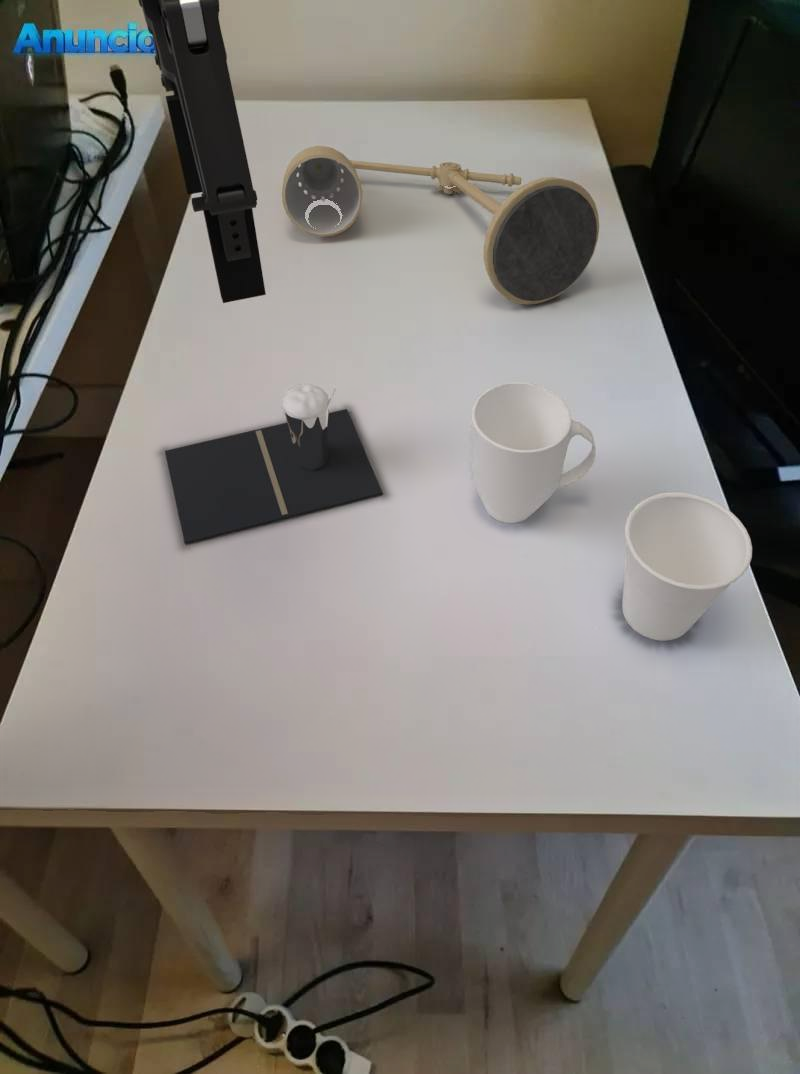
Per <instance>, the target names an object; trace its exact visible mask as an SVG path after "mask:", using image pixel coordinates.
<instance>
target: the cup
mask: <svg viewBox="0 0 800 1074" xmlns="http://www.w3.org/2000/svg"><path fill="white" fill-rule="evenodd" d="M624 537H625V538H624V539H625V543H626V545H625V548H626V549H625V562H624V563H625V564H624V575H623V576H624V577H623V580H624V581H623V591H622V601H621V603H622V604H621V607H622V613H623V616H624V618H625V621H626V623H628V625H629V626H630V627H631V628H632V629H633V630H634V631H635V632H637V633H638V634H639V635H641V636H643V637H646V638H648V639H651V640H655V641H662V642H663V641H665V642H667V641H672V640H676V639H679V638H680V637H683V636H684V635H685V634H687V632H688V631H689V630H690V629H691V628H692V627H693V626H694V625H695V624H696V622H697V621H698V620H699V619H700V618H701V617H702V616H703V615H704V613H705V612H706V611H708V609H709V608H710V607H711V606H712V605H713V604H714V603H715V602H716V601H717V599H719V597H720V596H722V594H723V593H724V592H725V591H726V590H727V589H728V588H729V587H730V586H731V584H733V583H735V582H736V581H737V580H739V579H740V578H741V577H743V576H744V574H745V573H746V571H747V570H748V568H749V566H750V564H751V561H752V558H753V545H752V540H751V537H750V534H749V533H748V529H747V528H746V527H745V526H744V524H743V523H742V521H741V520H740V519H739V518H738V517H737V516H736V515H735V514H734V513H733V512H732V511H731V510H730V509H728V508H726V507H725V506H723V505H722V504H721V503H719V502H716V501H715V500H713V499H710V498H707V497H705V496H702V495H699V494H695V493H690V492H679V491H674V492H673V491H672V492H662V493H659V494H654V495H651V496H650V497H647V498H645V499H643V500H642V501H641V502H639V503H638V504H636V505H635V507H633V509H632V510H631V511H630V513H629V514H628V516H627V519H626V521H625V526H624Z"/></svg>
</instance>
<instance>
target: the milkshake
mask: <svg viewBox="0 0 800 1074" xmlns="http://www.w3.org/2000/svg"><path fill="white" fill-rule="evenodd" d="M335 392H336V388H334V389H333V392H332V393H331V396H330V398H329V394H328V393H327V392H326V391H325V390H324V389H323V388H321V387H320V386H319V385H315V384H311V383H298V384H296V385H294V386H292V387H290V388H289V389H288V390H287V391H286V392H285V393H284V395H283V397H282V400H281V406H282V411H283V414H284V417H285V420H286V423H287V424H288V427H289V431H290V434H291V438H292V442H293V446H294V450H295V454H296V458H297V462H298V464H299V465H300V466H301V467H302V468H304V469H307V470H316V469H319V468H322V467H324V465H325V464H326V463H327V462H328V418H329V413H330V403H331V400H332V398H333V396H334V394H335Z"/></svg>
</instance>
